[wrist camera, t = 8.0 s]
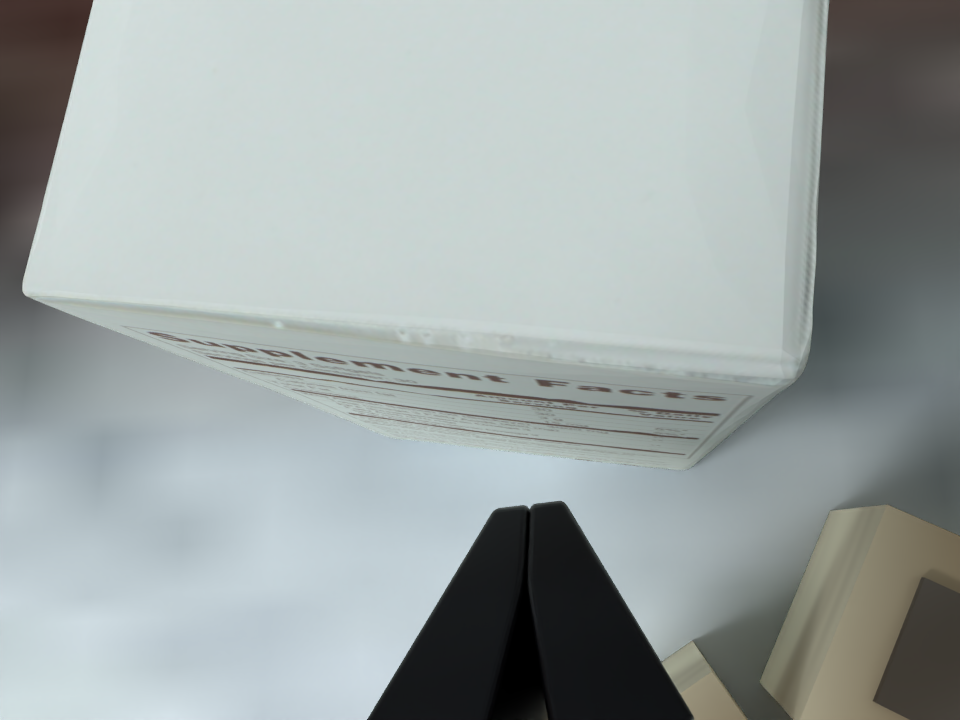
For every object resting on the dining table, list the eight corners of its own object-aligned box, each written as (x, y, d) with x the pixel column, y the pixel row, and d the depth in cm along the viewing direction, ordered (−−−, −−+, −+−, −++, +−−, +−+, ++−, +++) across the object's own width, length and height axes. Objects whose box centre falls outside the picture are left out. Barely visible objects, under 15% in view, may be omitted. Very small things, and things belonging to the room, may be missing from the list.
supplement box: (430, 167, 21) (158, -346, 9) (721, 183, 19) (885, -409, 7) (384, 444, 19) (-17, 297, 7) (693, 485, 18) (838, 385, 6)
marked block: (1020, 595, 16) (1147, 615, 12) (951, 779, 16) (1059, 862, 12) (829, 511, 17) (889, 504, 13) (758, 681, 17) (799, 726, 13)
